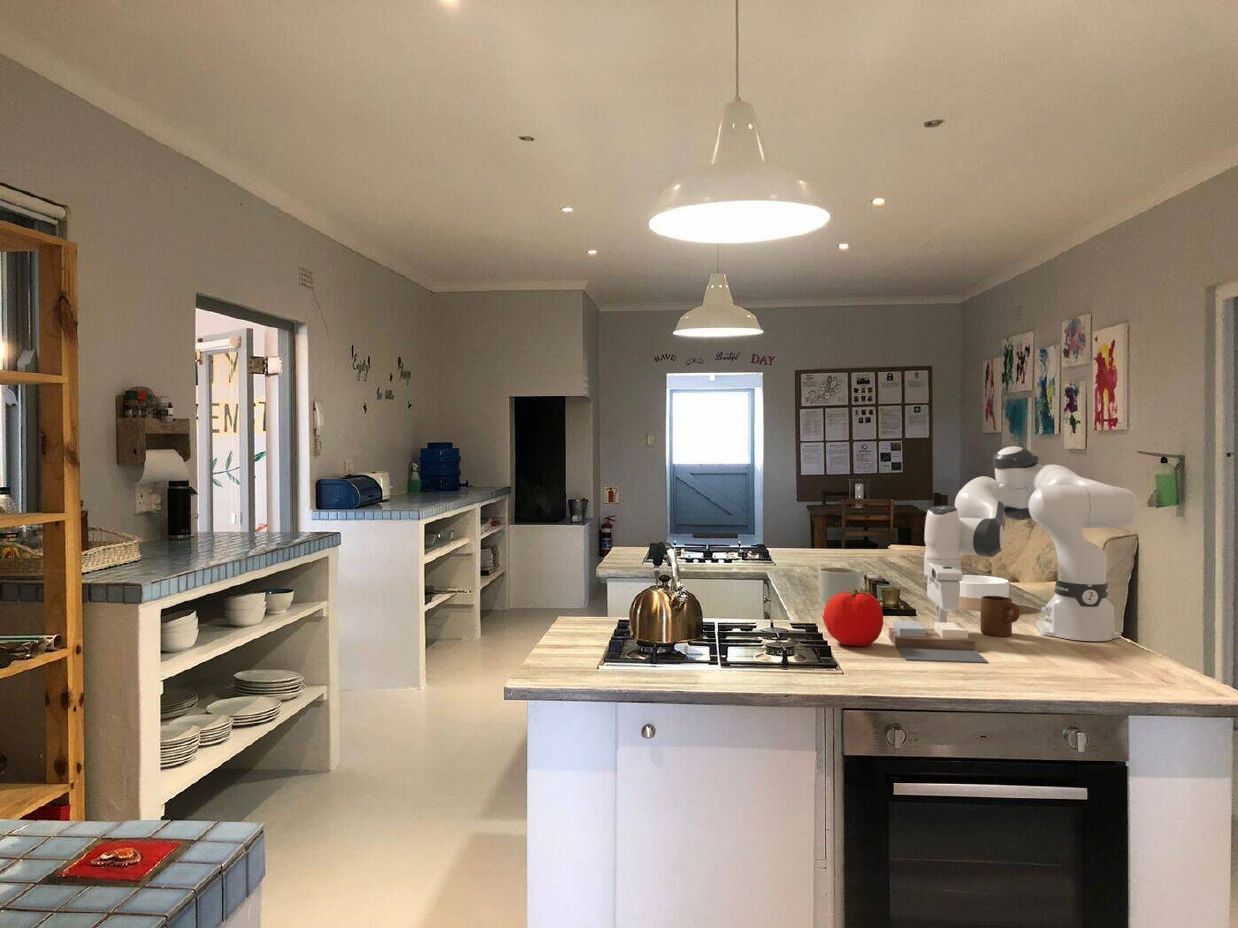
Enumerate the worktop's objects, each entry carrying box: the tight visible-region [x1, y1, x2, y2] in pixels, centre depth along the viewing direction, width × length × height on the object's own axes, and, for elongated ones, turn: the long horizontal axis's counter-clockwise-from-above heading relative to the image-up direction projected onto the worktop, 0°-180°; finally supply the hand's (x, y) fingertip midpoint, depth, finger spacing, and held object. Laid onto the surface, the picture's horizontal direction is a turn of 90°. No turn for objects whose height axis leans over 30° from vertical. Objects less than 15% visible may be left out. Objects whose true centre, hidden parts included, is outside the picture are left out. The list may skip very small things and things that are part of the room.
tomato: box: [822, 588, 884, 647], centre depth 220 cm, size 16×14×14 cm
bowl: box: [958, 574, 1010, 612], centre depth 273 cm, size 17×17×8 cm
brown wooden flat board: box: [888, 627, 976, 651], centre depth 221 cm, size 12×18×2 cm, turn 82°
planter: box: [818, 566, 862, 605], centre depth 273 cm, size 12×12×11 cm
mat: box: [896, 647, 989, 664], centre depth 209 cm, size 12×18×1 cm, turn 82°
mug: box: [980, 596, 1021, 637], centre depth 231 cm, size 12×8×9 cm, turn 16°
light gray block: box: [893, 620, 926, 637], centre depth 222 cm, size 9×6×2 cm, turn 172°
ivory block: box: [933, 621, 969, 639], centre depth 220 cm, size 9×6×2 cm, turn 172°
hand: (941, 622), depth 231 cm, fingers closed
